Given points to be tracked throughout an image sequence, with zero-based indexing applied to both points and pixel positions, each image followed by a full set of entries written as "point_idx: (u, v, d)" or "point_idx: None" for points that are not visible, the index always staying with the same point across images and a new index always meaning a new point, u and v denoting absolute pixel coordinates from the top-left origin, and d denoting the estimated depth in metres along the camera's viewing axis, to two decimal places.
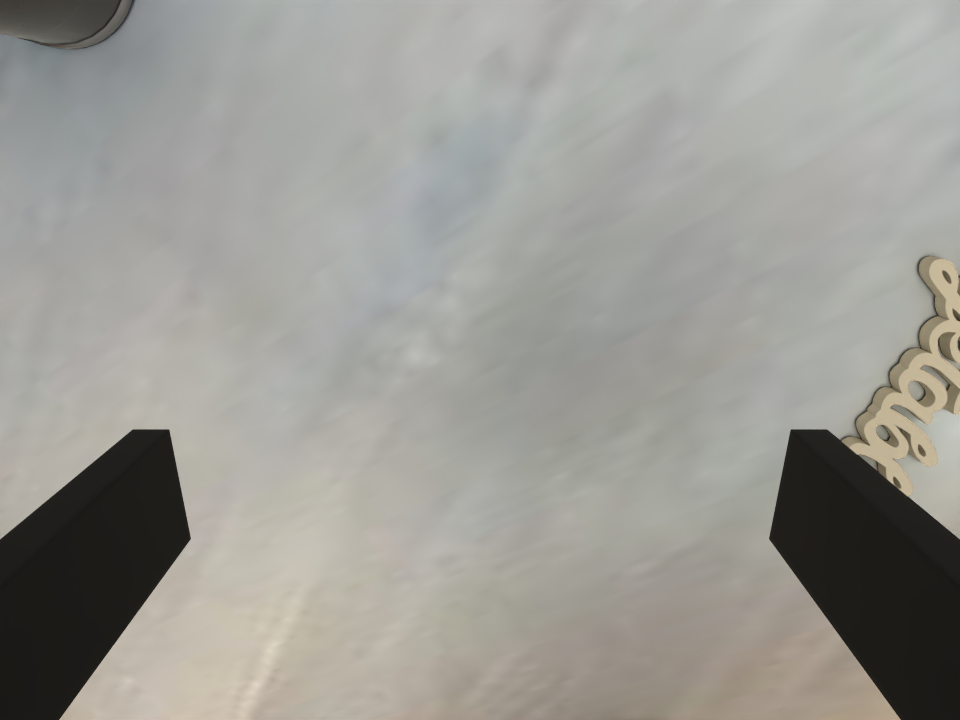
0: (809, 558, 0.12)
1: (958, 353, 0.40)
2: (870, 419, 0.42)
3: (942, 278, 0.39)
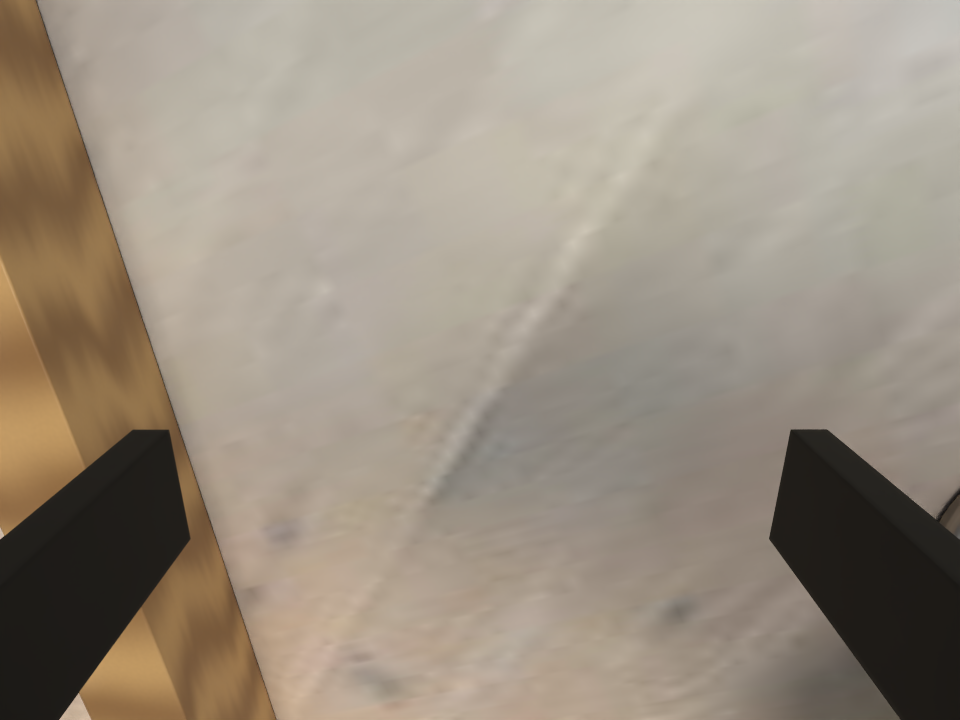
0: (809, 558, 0.12)
1: None
2: None
3: None
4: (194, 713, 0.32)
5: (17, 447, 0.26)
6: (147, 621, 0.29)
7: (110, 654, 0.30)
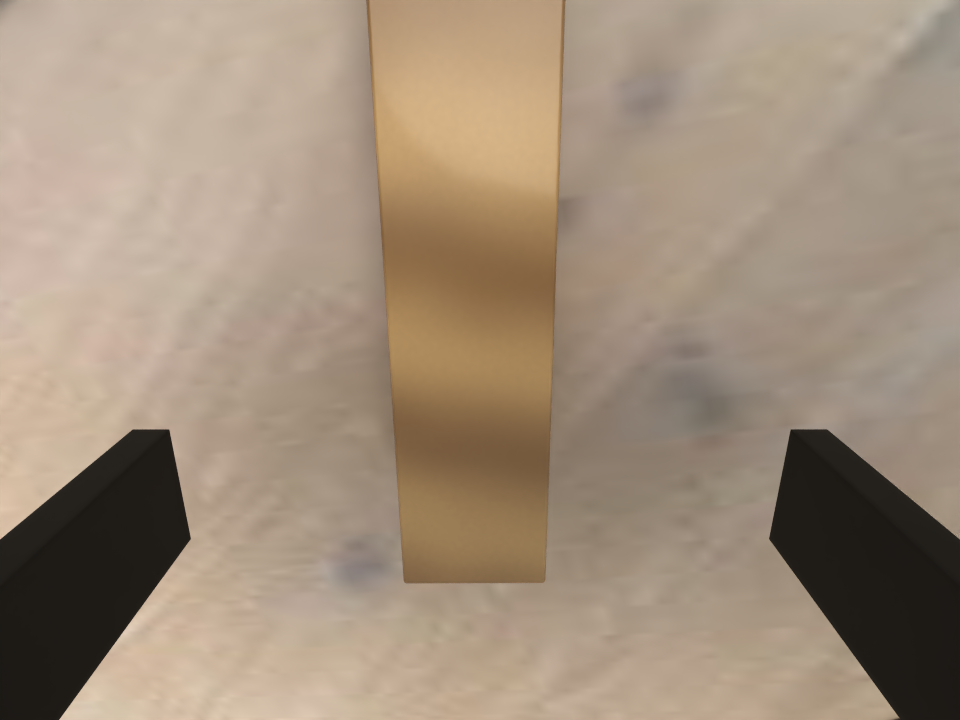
0: (809, 558, 0.12)
1: None
2: None
3: None
4: None
5: None
6: (563, 42, 0.15)
7: (468, 113, 0.16)
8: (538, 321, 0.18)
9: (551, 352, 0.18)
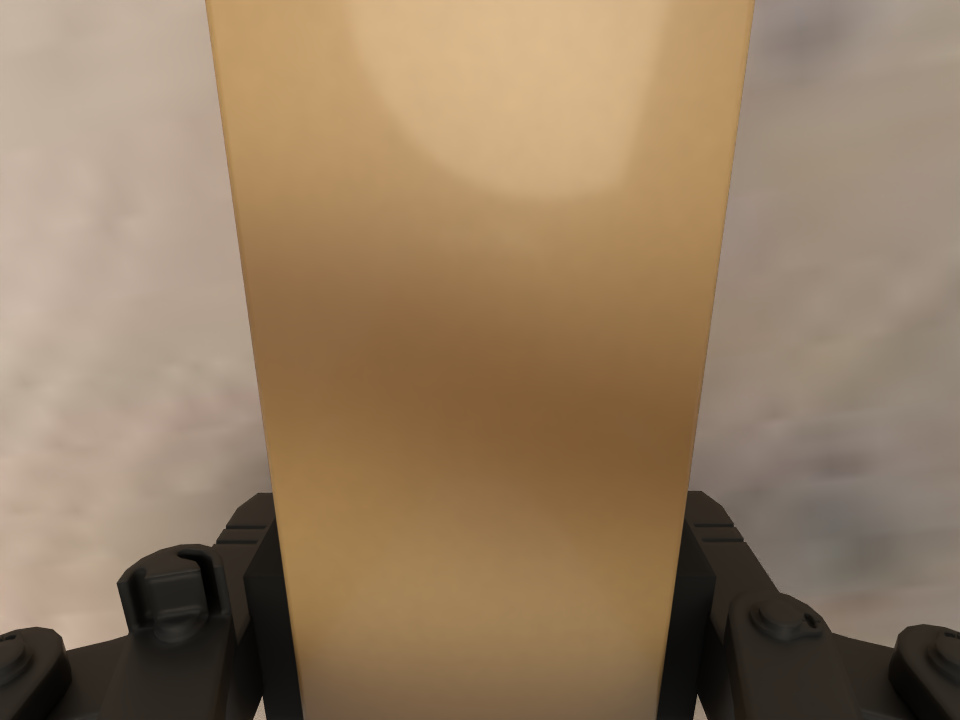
0: None
1: None
2: None
3: None
4: None
5: None
6: None
7: None
8: (646, 523, 0.07)
9: (672, 587, 0.08)
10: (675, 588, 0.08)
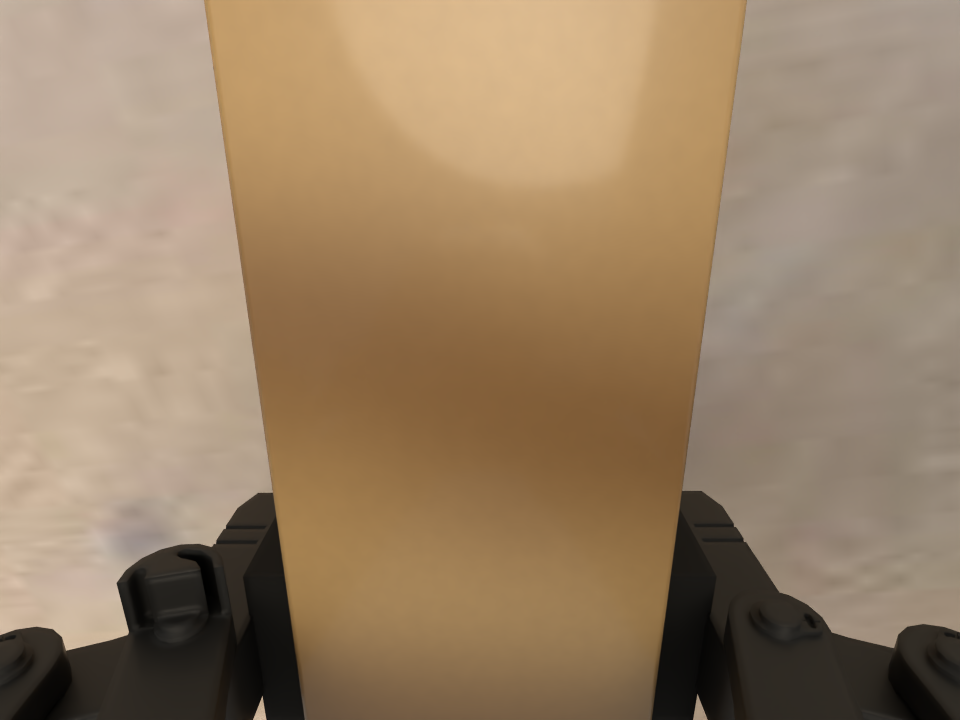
0: None
1: None
2: None
3: None
4: None
5: None
6: None
7: None
8: (642, 520, 0.07)
9: (667, 583, 0.08)
10: (675, 588, 0.08)
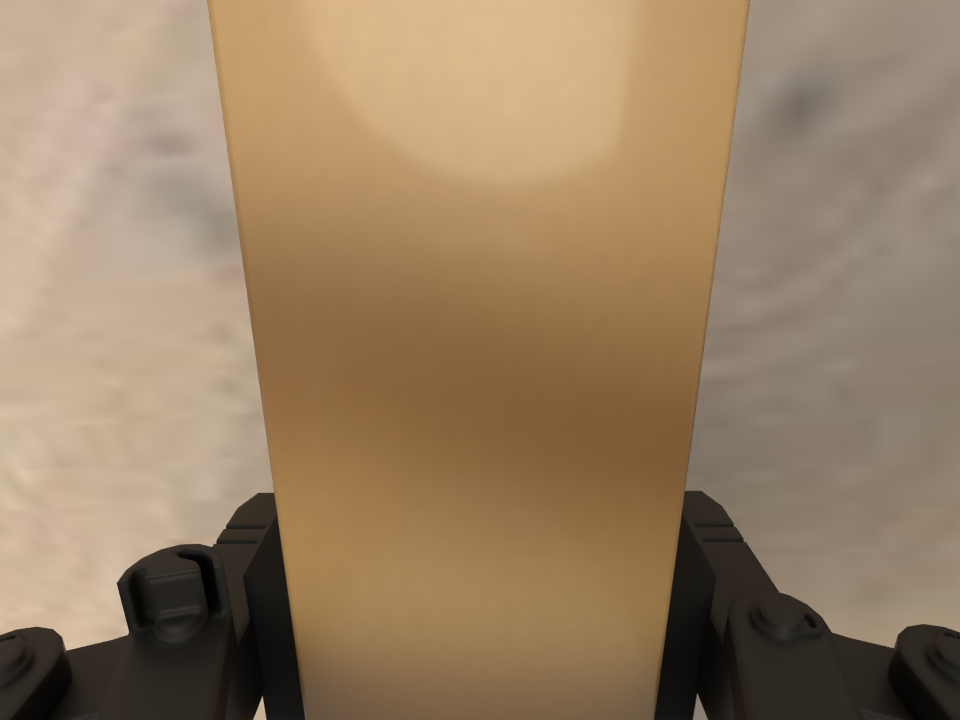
0: None
1: None
2: None
3: None
4: None
5: None
6: None
7: None
8: (644, 521, 0.07)
9: (670, 585, 0.08)
10: (675, 588, 0.08)
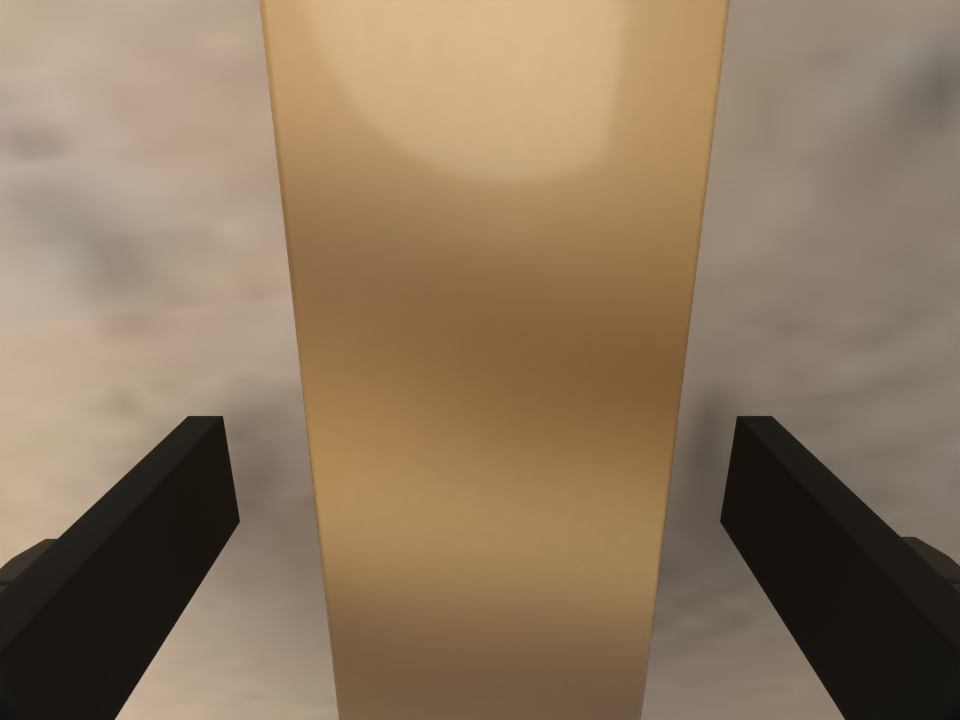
0: (751, 538, 0.12)
1: None
2: None
3: None
4: None
5: None
6: None
7: None
8: (641, 450, 0.08)
9: (664, 511, 0.08)
10: None
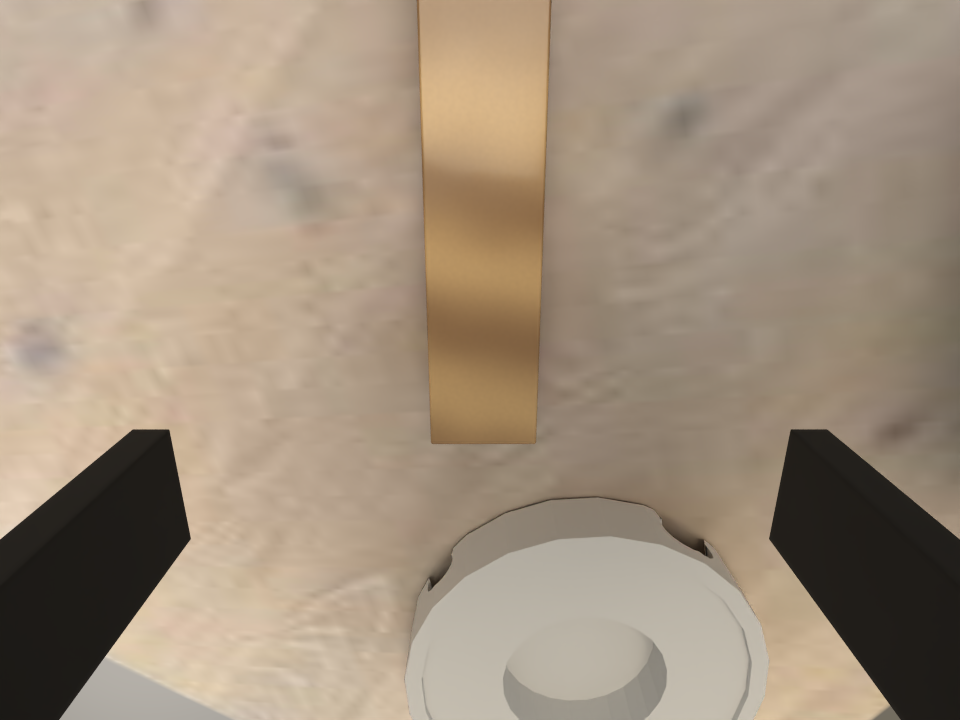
0: (809, 558, 0.12)
1: None
2: None
3: None
4: None
5: None
6: (549, 44, 0.23)
7: (485, 91, 0.23)
8: (531, 240, 0.25)
9: (541, 264, 0.26)
10: None
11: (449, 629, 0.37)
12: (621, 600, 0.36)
